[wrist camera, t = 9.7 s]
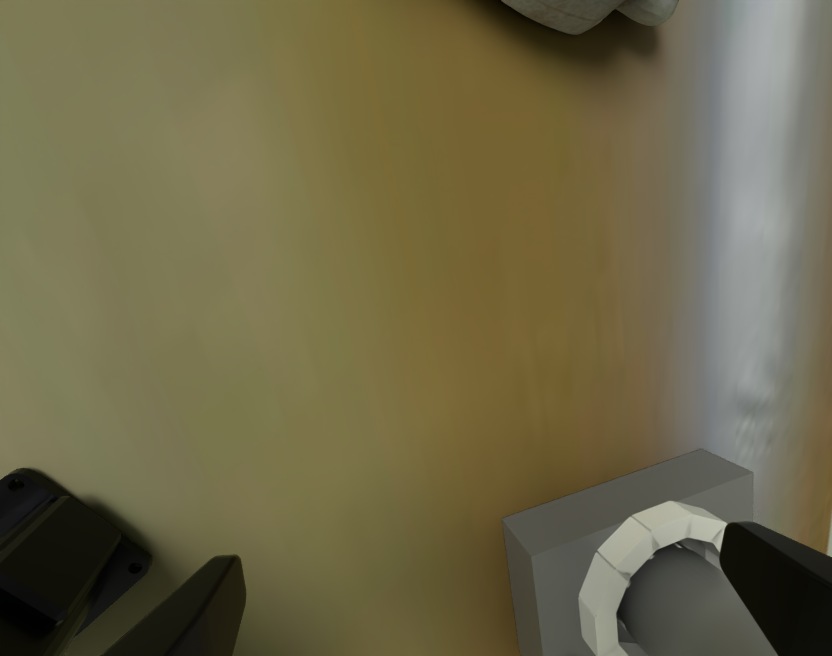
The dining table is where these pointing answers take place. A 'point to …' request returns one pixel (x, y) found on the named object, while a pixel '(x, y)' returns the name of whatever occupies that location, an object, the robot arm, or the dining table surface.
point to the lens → (688, 609)
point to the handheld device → (591, 12)
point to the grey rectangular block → (613, 548)
